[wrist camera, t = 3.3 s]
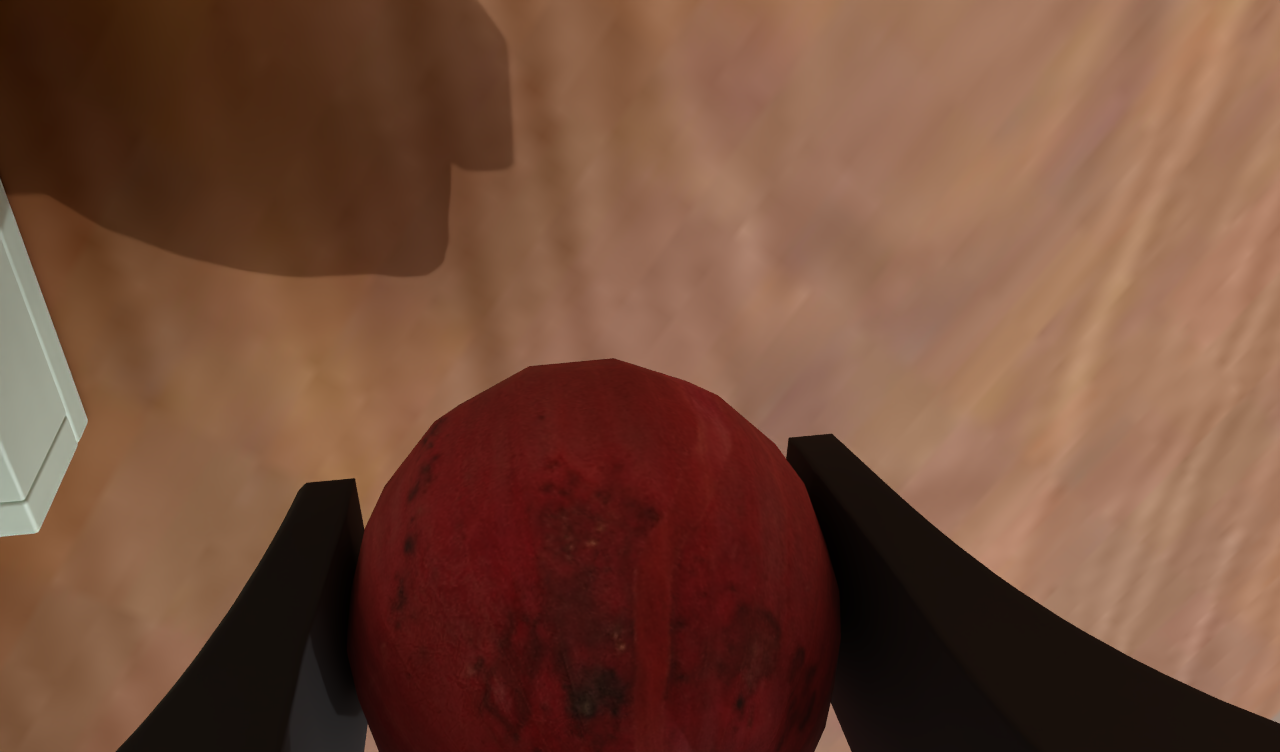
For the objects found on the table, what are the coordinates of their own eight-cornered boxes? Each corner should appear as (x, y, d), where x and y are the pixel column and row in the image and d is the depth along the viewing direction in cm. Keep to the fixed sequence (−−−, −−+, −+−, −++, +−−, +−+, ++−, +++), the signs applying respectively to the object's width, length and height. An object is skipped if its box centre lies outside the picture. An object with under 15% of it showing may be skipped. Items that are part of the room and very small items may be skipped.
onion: (328, 276, 14) (231, 837, 7) (756, 229, 14) (1024, 705, 8) (403, 588, 17) (383, 1165, 11) (747, 539, 18) (931, 1052, 11)
